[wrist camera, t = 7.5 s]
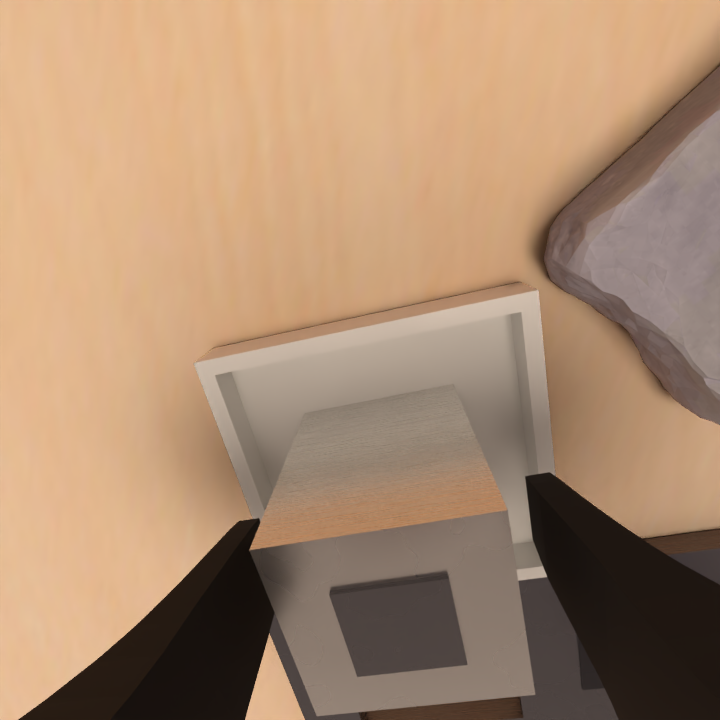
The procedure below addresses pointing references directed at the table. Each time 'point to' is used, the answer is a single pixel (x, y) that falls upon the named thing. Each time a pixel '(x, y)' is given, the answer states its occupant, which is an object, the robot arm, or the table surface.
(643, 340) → the stone block
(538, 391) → the tray
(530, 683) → the cube with square inset
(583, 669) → the plate with square cutout
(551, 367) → the table surface
